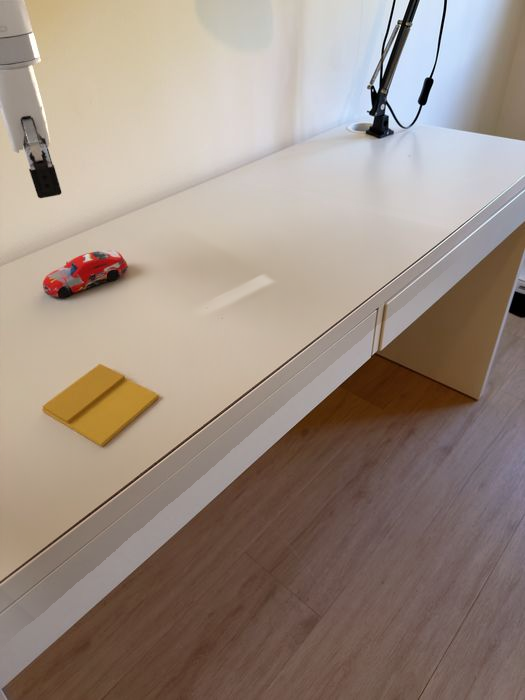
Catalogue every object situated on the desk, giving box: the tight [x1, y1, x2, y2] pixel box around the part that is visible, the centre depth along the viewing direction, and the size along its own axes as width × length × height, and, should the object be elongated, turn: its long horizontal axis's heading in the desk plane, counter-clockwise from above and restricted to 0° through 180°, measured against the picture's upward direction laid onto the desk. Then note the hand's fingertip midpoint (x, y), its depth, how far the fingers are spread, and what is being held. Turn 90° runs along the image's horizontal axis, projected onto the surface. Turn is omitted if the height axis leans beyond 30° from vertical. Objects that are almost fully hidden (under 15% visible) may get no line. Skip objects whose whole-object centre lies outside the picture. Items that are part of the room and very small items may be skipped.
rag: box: [41, 363, 160, 448], centre depth 61 cm, size 9×10×1 cm
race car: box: [42, 250, 129, 299], centre depth 82 cm, size 13×5×4 cm, turn 123°
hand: (46, 184), depth 77 cm, fingers open, 9 cm apart
